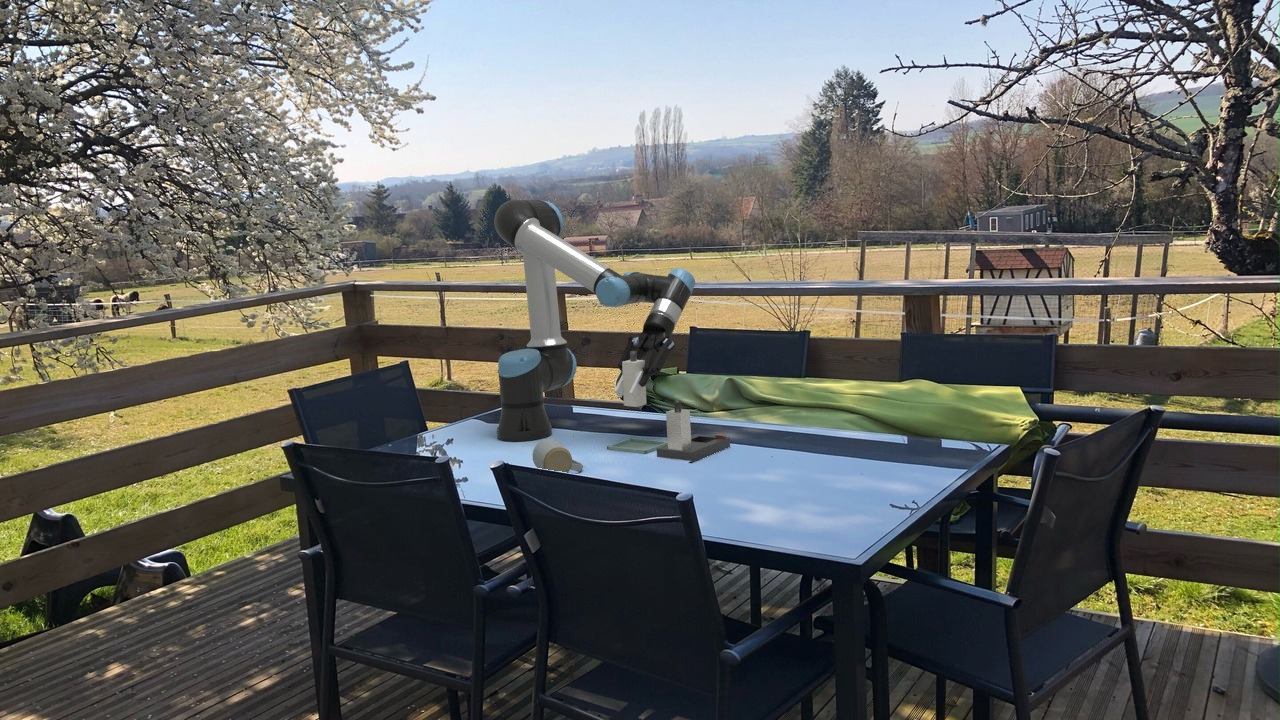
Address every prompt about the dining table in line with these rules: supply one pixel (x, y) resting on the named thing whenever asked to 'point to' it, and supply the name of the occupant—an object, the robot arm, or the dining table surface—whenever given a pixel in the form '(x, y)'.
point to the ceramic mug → (554, 457)
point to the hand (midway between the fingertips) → (625, 395)
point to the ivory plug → (632, 380)
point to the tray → (637, 445)
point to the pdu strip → (697, 445)
